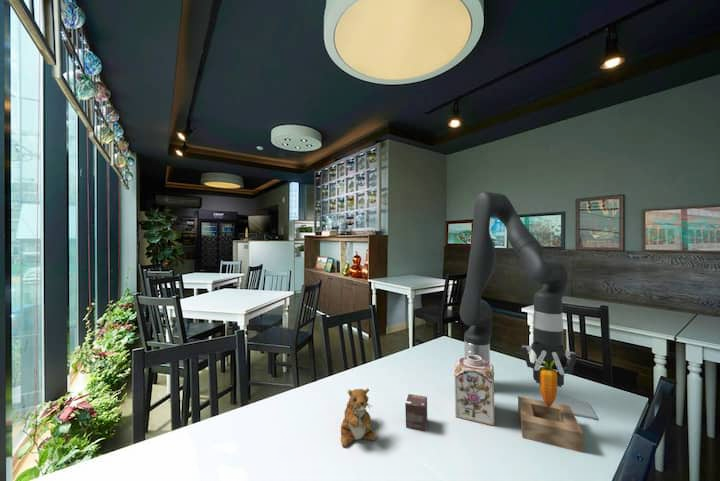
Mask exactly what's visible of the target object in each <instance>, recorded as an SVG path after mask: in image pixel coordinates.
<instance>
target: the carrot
mask: <svg viewBox="0 0 720 481" xmlns="http://www.w3.org/2000/svg"><path fill="white" fill-rule="evenodd" d="M542 365H543V366H540V367H539V383H538V384H539V390H540V394H541V397H542V401H544V402H545V404H546V406H547V407H550V406H551V405H552V404H553V403H555V402H554V400H555V397H556V396H557V393H558V392H557V390H558V385H557V378H558V377H557V372H558V370H556V369H554V368H553V366H554V365H555V361H554V360H553V361H552V362H550V361H543V362H542Z"/></svg>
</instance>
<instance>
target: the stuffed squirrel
mask: <svg viewBox="0 0 720 481" xmlns="http://www.w3.org/2000/svg"><path fill="white" fill-rule="evenodd" d="M369 391H370V389H369V388H368V387H367V388H366V389H363V388H355V389H353V390H351V389H347V394H348V396H349V397H350V398H349V397H348V402H347V403H346V406H345V407H346V408H345V410H344V414H343V415H344V419H343V420H342V423H341V425H340V442H341V446H342V447H347V446H348V445H349V444H351V443H352V442H353V441H354V440H357V441H358V440H361V439H364V440H368V441H376V438H377V436H376V433H375V432H374V431H373V430H372V419H371V416H370V413H369V412H368V411H367V409H366V408H367V407H368V408H369V409H371V408H373V406H372V405H371V404H369V403H368V401H369V396H367V394H368V392H369Z"/></svg>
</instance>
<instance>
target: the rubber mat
mask: <svg viewBox="0 0 720 481" xmlns="http://www.w3.org/2000/svg"><path fill="white" fill-rule="evenodd" d="M553 403H556V404H561V405H567V406H570V408H571V410H572V412H573V414H574V416H575V417H580V418H586V419H589V420H590V419H591V420H595V421H597V420H598V417H597V415H596V414H595V412H594V410H593V409H592V407H591V406H590V404H589V402H588V401H584V400H578V399H572V398H568V397H562V396H557V395H556V397H555V400H554V402H553Z"/></svg>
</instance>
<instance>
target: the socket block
mask: <svg viewBox="0 0 720 481" xmlns="http://www.w3.org/2000/svg"><path fill="white" fill-rule="evenodd" d="M517 412H518V413H517V414H518V418H519V423H520V425H519V426H520V431H521V437H522V439H527V440H530V441H534V442H539V443H543V444H547V445H552V446H554V447H555V446H556V447H560V448H563V449H568V450H571V451H576V452H579V453H584V433H583V430H582V429H581V426H580V425H579V423H578V420H577V418H576V416H575V415H574V414H573V412H572V410H571V408H570V406H567V405H561V404H556V403H555V402H553V404H552V405H551V406H550V407H547V406H546V404H545V402H544V400H539V399H533V398H529V397H525V396H524V397H523V396H519V395H518V396H517Z"/></svg>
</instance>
